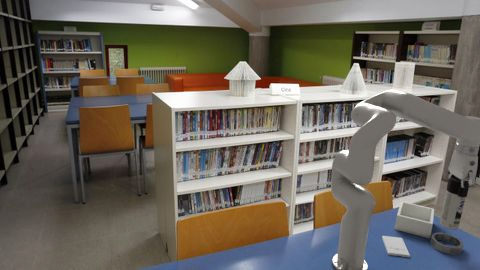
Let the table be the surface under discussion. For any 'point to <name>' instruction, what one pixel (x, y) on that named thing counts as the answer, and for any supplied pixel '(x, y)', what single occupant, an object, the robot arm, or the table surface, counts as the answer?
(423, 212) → the bin
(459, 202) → the spray can
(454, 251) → the collar
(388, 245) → the external hard drive
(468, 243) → the table surface
